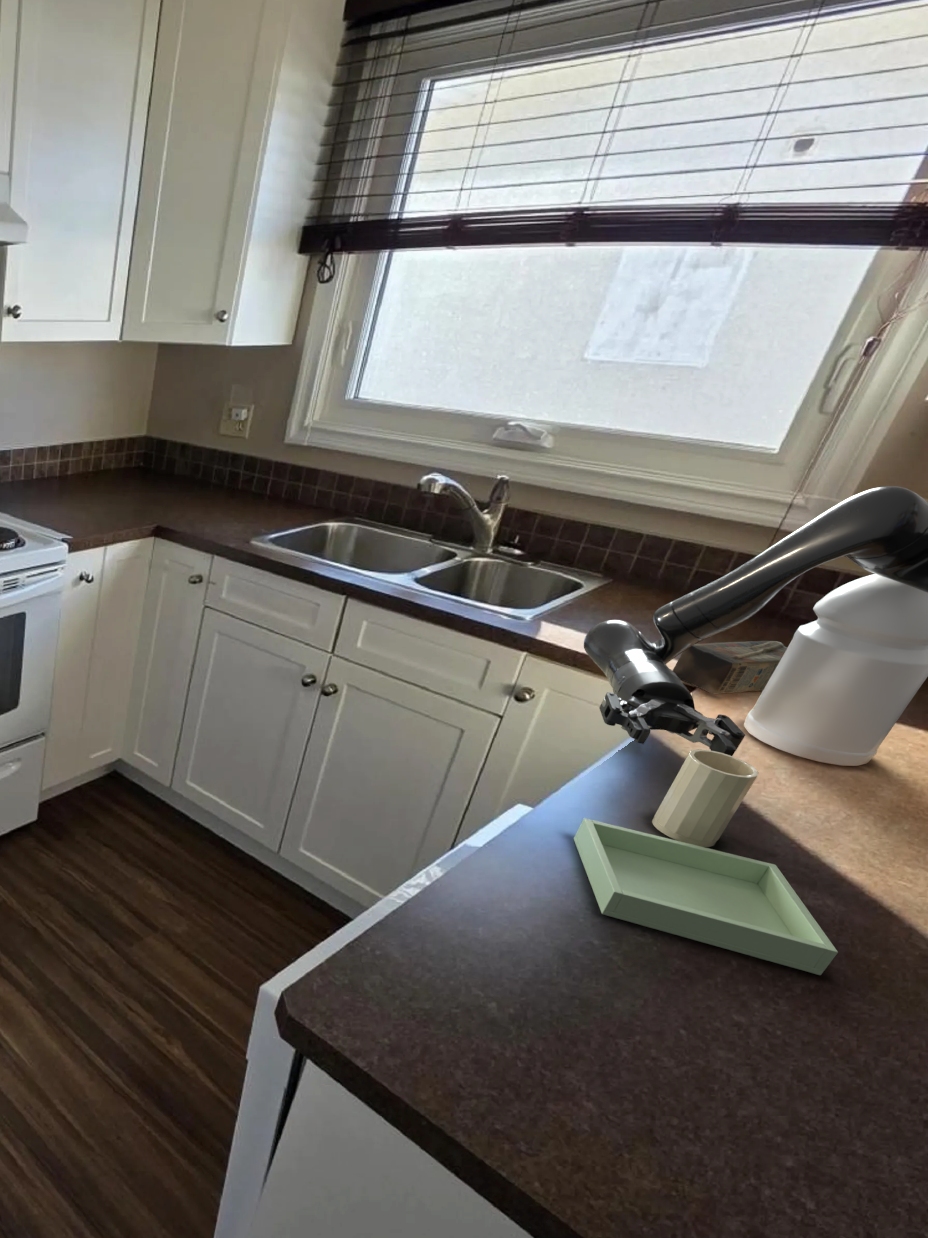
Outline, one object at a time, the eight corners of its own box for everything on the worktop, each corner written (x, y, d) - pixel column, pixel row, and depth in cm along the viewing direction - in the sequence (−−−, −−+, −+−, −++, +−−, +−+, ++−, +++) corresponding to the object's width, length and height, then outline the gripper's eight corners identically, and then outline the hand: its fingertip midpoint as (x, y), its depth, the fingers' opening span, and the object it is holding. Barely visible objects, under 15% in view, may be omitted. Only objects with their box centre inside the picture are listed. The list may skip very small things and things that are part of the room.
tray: (761, 886, 89) (775, 864, 88) (820, 975, 77) (838, 952, 76) (573, 838, 96) (583, 817, 94) (601, 914, 84) (614, 891, 83)
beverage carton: (801, 689, 136) (822, 654, 133) (714, 697, 132) (733, 661, 129) (750, 669, 143) (769, 635, 140) (665, 676, 139) (683, 641, 136)
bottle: (730, 711, 128) (826, 542, 115) (847, 735, 122) (962, 560, 109) (756, 750, 117) (866, 567, 104) (886, 778, 111) (1019, 589, 98)
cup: (706, 825, 99) (746, 757, 95) (723, 853, 94) (767, 782, 90) (645, 811, 102) (682, 744, 97) (659, 837, 97) (699, 768, 92)
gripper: (698, 728, 115) (739, 785, 102) (580, 703, 120) (604, 755, 107) (725, 682, 111) (771, 736, 98) (601, 659, 116) (630, 707, 103)
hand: (684, 746), depth 103 cm, fingers open, 8 cm apart
